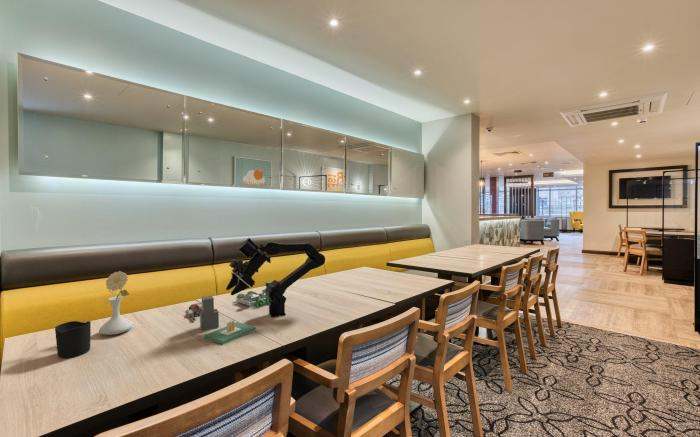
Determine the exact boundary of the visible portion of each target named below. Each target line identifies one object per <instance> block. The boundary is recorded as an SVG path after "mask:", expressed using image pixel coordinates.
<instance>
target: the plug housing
mask: <svg viewBox="0 0 700 437" xmlns="http://www.w3.org/2000/svg"><path fill="white" fill-rule="evenodd" d="M201 303H202V311H201V312H200V316H199V326H200V327H199V328H200V329H201V331H205V330H210V329H211V330H212V329H216V328H219V327H220V324H219V322H220V321H219V320H220V319H219V316H220V313H219V311H218V309H217V308H215V307H214V306H215V301H214V297H213V296H212V295H208V296H201Z"/></svg>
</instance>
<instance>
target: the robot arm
mask: <svg viewBox="0 0 700 437" xmlns="http://www.w3.org/2000/svg"><path fill="white" fill-rule="evenodd" d="M237 250H238V251H239V252H240V253H241V254H243V256H245V257H246V258H250V259H248V260H246V261H243V260H241V259H238V260H236V259H234V258H231V261H230V263H229V264H228V265H229V267H230V268H232V269H231V278H230V280H229V282H228V284H227V286H226V287H225V290H226V291H229V290H231V289H232V290H231V292H230V295H231V296H234V295H236V294H237V295H238V294H240V292H242V291H245V290H247V289H251V288H252V287H254V285H255V283H256V281H255V280H254V279H253V278H252V277H253V276H254V275H255V274H256V273H257V274H258V273H259V270H260V269H261V267H262V266H263V265H264V264H265V263H266V262H267V263H269V264H271V263H272V262H271V261H272V260H271V258H272V257H271V256H273V255H277V254H278V255H279V254H281V253H286V252H290V253H293V252H304V253H305V255H306V256H307V258H306V260H305V261H304V263H303V264H301V265H300V266H298V267H297V268H295V270H293V271H292V272H291V273H289V274H288V275H286V276H285V277H283V278H282V279H281V280H279V281H277V279H274V280H273V281H272V282H271V283H270V284H268V286H267V287H266V286H265V293H264V294H265V295H266V296H267V297H269V299H270V300H271V301H270V304H268V314H269V315H270V317H271V318H276V317H283V316H286V312H285V311H286V310H285V308H286V307H285V306H286V305H285V304H286V301H287V297H286V296H284V294H285V293H286V290H287V289H288V288H289V287H290V286H292V285H293V284H295V283H296V282H297V281H298V280H299V279H301V278H303V277H304V276H305V275H306V274H308V273H309V272H310V271H312V270H315V269H318V268H320V267H322V266H324V264H325V263H326V256H325V255H324V254H322V253H321V252H320V251H318V250H317V249H316V248H315V247H314V246H313V245H312V244H311V243H309V242H290V243H289V242H286V243H285V242H284V243H282V242H277V241H276V242H275V241H271V240H270V241H269V240H266V241H264V242H263V243H260V244H256V243H255V242H254V241H253V240H252V239H251V238H247V239H246V240H244V241H242V242H241V243H240V244H239V245H238V246H237ZM261 252H262V253H261ZM267 255H269V256H267Z"/></svg>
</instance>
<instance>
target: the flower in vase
mask: <svg viewBox="0 0 700 437" xmlns="http://www.w3.org/2000/svg"><path fill="white" fill-rule="evenodd" d="M105 281H106V282H105V285H106V289H108V292H109V293H111V294H114V295H116V296H112V297H109V298H107V301H109V303H110V304H111V305H110V306H111V308H112V316H111V317H110V318H109V320H107V321H106V322H105V323H103V324H102V326H101V327H99V330H98V332H99V333H100V334H101V335H106V336H111V335H112V336H113V335H119V334H122V333H125V332H127V331H129V330H131V329H133V328H134V323H133V322H132V321H131V320H129V319H127V318H125V317H123V316H122V315H121V313H120V305H121V301H122V300H123V298H124V297H125V296H129V295H130V293H129V292H128V290H127V289H123V290H122V288H124V287H125V285H126V284H127V282H128V281H129V279H128V274H127V273H125V272H123V271H121V270H118V271H114V272H113V273H111V274H110V275H109V276H108V277H107V279H105ZM118 290H120V291H119V292H118V293H117V292H116V291H118ZM120 294H121V295H120Z"/></svg>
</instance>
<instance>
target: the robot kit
mask: <svg viewBox="0 0 700 437" xmlns="http://www.w3.org/2000/svg"><path fill="white" fill-rule="evenodd" d="M270 283H272V282H270V281H266V282H265V289H266V287H267V286H268V284H270ZM265 289H262V290H261V292H260V293H258V292H257V291H253V290H249V291H248V292H247V293H246V294H243V293H240V292H239V293H237V295H236V303H240V304H243V305H247V306H249V307H252V306H254V305H255V307H256V308H262V307H263V306H264V305H265V304H267V305H269V304H270V301H271V300H270V299H269V297H267V296H266V294H265Z"/></svg>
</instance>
